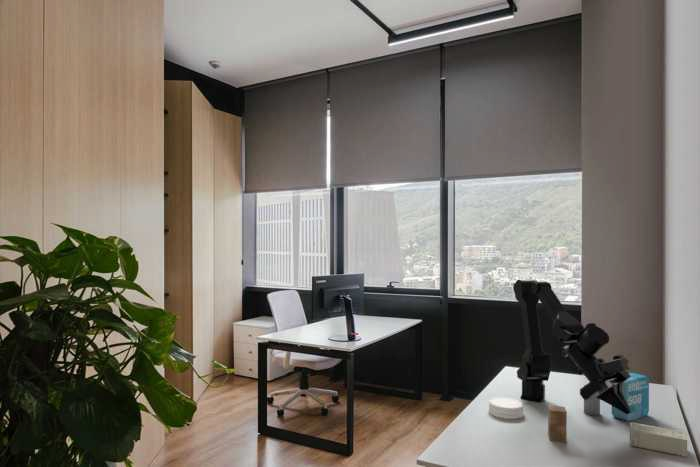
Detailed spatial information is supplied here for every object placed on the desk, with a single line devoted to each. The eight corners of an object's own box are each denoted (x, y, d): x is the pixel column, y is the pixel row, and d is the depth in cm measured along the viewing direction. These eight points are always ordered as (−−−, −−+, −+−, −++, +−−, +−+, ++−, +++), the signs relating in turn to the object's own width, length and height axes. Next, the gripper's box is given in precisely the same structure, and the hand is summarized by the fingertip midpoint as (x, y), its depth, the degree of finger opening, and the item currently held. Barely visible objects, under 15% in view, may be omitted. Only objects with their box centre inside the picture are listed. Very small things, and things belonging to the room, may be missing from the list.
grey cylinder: (583, 413, 142) (583, 387, 142) (584, 409, 146) (584, 383, 146) (599, 417, 140) (599, 390, 140) (600, 412, 143) (600, 386, 143)
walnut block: (549, 440, 122) (550, 410, 123) (548, 434, 126) (548, 405, 126) (566, 442, 121) (566, 412, 121) (564, 436, 125) (564, 406, 125)
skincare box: (629, 445, 120) (687, 458, 114) (629, 428, 120) (687, 440, 114) (629, 437, 125) (685, 449, 119) (630, 420, 125) (685, 431, 119)
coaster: (515, 407, 147) (515, 396, 147) (529, 420, 137) (529, 408, 137) (484, 408, 146) (484, 396, 146) (495, 420, 136) (496, 408, 136)
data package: (626, 422, 136) (626, 381, 136) (611, 417, 140) (611, 377, 140) (649, 415, 142) (649, 375, 142) (634, 410, 146) (634, 371, 146)
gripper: (592, 350, 121) (638, 405, 112) (623, 341, 132) (667, 390, 123) (562, 373, 127) (604, 427, 118) (594, 362, 138) (634, 411, 130)
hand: (629, 413), depth 122 cm, fingers closed
